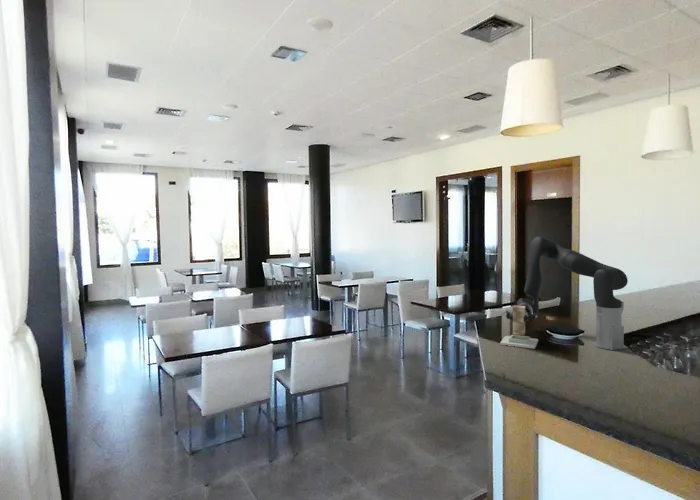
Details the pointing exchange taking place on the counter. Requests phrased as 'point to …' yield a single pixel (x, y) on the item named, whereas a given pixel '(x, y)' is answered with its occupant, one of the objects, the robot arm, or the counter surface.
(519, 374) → the counter surface
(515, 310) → the beige square block
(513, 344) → the base plate
